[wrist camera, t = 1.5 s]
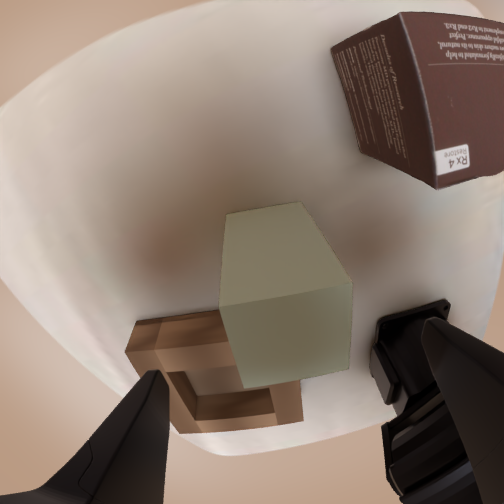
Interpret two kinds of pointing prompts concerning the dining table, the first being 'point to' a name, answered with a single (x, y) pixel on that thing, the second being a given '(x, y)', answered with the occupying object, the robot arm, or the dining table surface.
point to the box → (428, 94)
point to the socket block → (208, 376)
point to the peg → (283, 297)
